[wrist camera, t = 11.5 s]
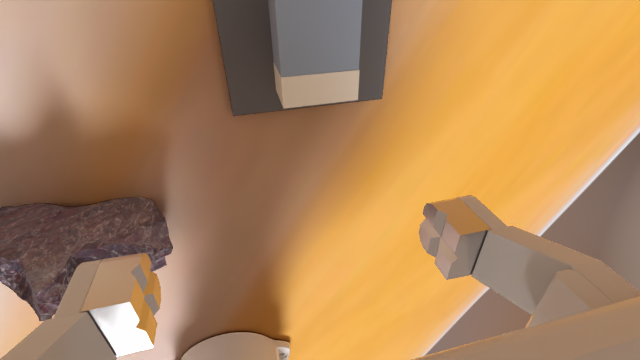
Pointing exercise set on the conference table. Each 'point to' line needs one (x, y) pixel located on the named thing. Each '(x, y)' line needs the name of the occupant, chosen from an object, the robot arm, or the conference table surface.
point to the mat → (257, 54)
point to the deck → (315, 50)
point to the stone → (73, 244)
